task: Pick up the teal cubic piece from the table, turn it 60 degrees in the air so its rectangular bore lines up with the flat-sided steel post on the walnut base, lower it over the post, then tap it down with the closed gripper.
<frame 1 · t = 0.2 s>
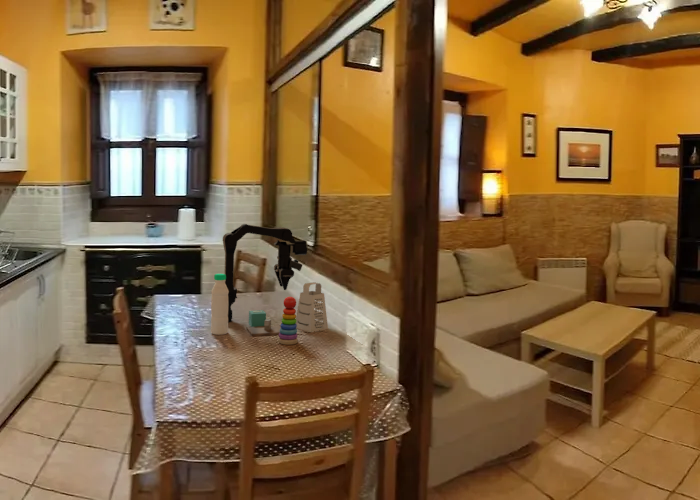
hand: (283, 288, 290), 14 cm above the table, tool pointing down, fingers open, 9 cm apart
water bottle: (219, 333, 261), on the table
grater: (311, 328, 274), on the table
teal cubic piece: (257, 325, 276), on the table
stacking toy: (287, 343, 249), on the table
keyed post base: (267, 331, 266), on the table
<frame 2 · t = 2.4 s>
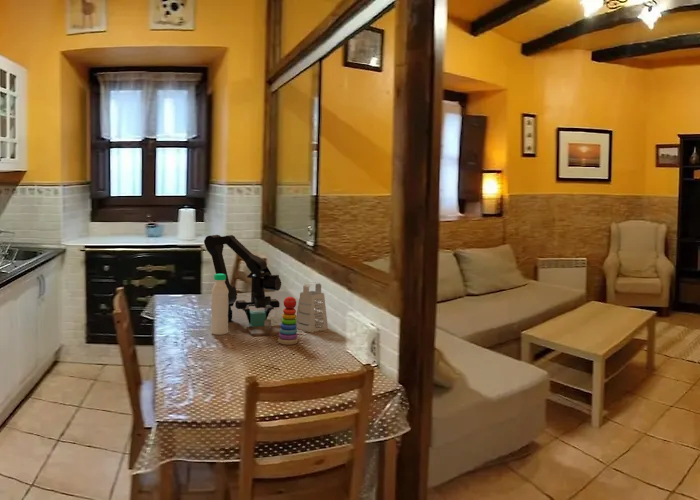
hand: (257, 323, 276), 1 cm above the table, tool pointing down, fingers closed on teal cubic piece, 6 cm apart
teal cubic piece: (257, 325, 276), on the table, touching gripper
everything else where it was.
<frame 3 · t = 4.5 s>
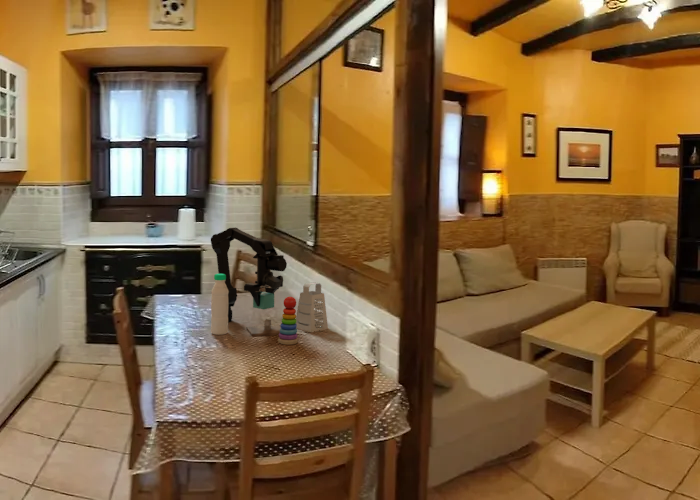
hand: (263, 305, 269), 10 cm above the table, tool pointing down, fingers closed on teal cubic piece, 6 cm apart
teal cubic piece: (263, 307, 270), point 9 cm above the table, touching gripper
everything else where it was.
when the fingers open (3 cm above the table, at t = 6.8 s): teal cubic piece stays where it is, resting on keyed post base.
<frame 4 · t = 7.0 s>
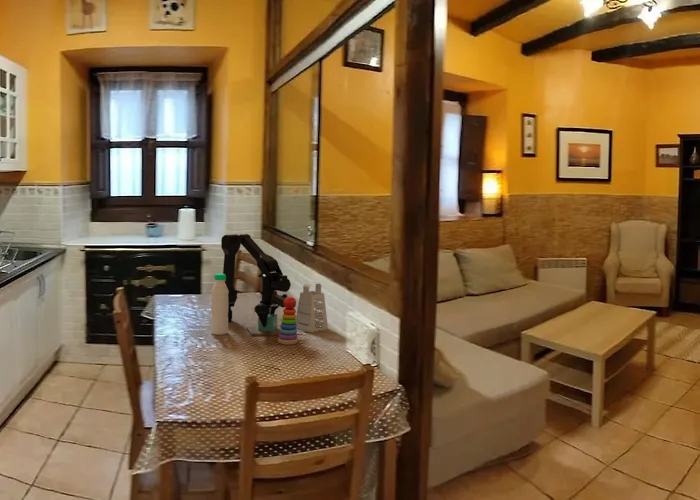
hand: (267, 324, 265), 3 cm above the table, tool pointing down, fingers open, 9 cm apart
teal cubic piece: (267, 329, 266), point 1 cm above the table, touching keyed post base
everything else where it was.
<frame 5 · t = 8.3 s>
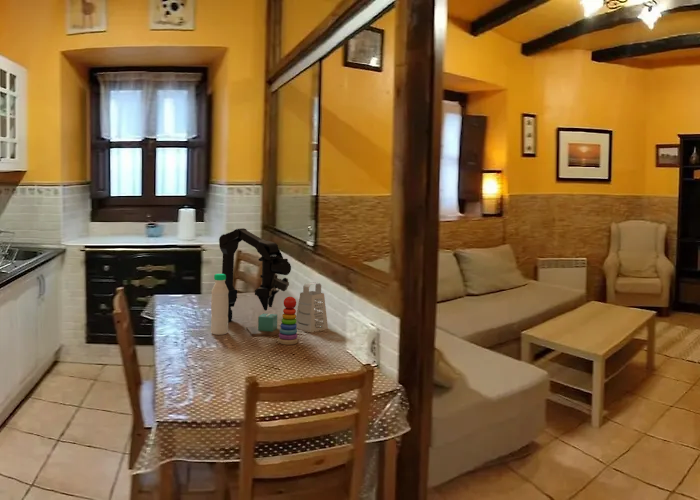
hand: (268, 308, 265), 10 cm above the table, tool pointing down, fingers open, 6 cm apart
nothing on the table moved.
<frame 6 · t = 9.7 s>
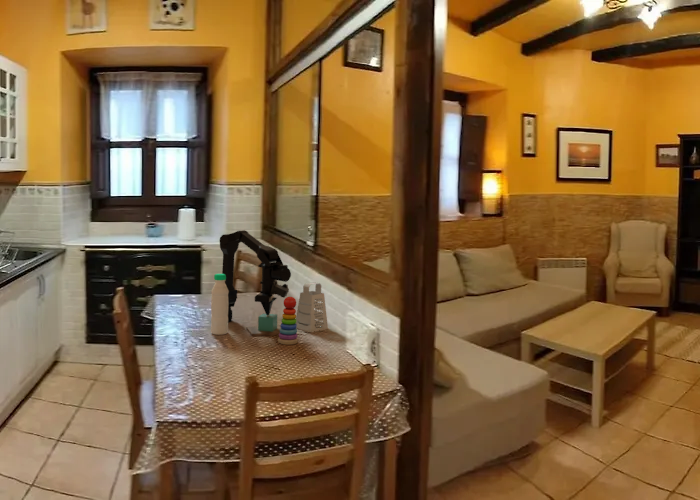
hand: (267, 314, 265), 7 cm above the table, tool pointing down, fingers closed
nothing on the table moved.
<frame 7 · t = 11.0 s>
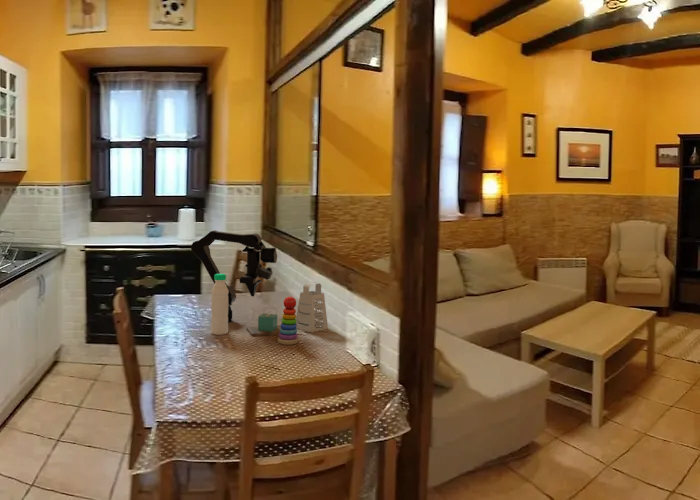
hand: (252, 296, 280), 12 cm above the table, tool pointing down, fingers closed
nothing on the table moved.
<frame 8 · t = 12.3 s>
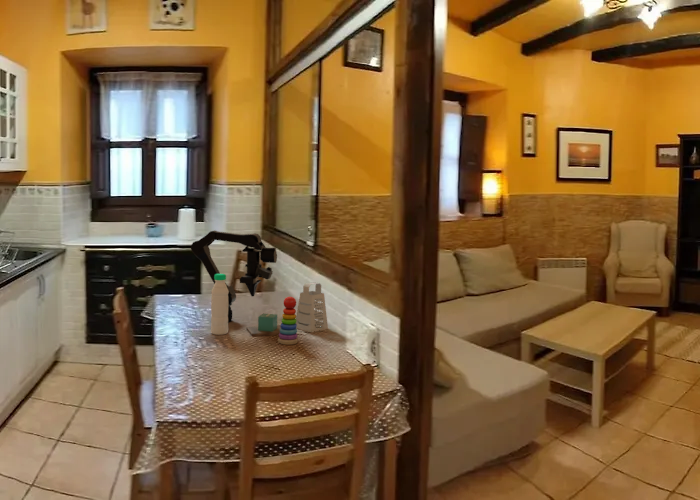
hand: (252, 296, 280), 12 cm above the table, tool pointing down, fingers closed
nothing on the table moved.
at the end: teal cubic piece 0.0 cm off-centre on the keyed post base, point 1.0 cm above the keyed post base's base; teal cubic piece tilted 0°; the gripper is holding nothing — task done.
